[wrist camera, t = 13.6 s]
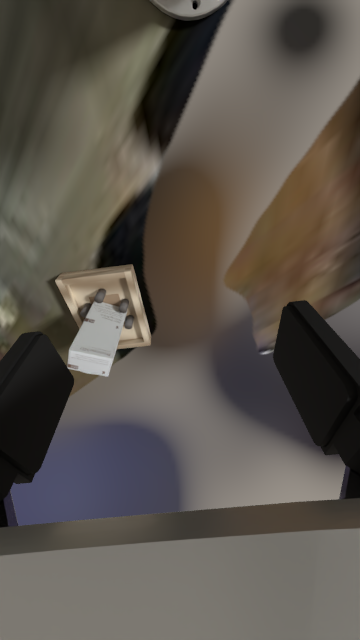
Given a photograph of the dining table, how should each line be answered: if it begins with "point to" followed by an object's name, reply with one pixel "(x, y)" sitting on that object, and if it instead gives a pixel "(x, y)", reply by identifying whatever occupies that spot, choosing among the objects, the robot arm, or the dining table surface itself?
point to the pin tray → (108, 299)
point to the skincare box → (97, 340)
